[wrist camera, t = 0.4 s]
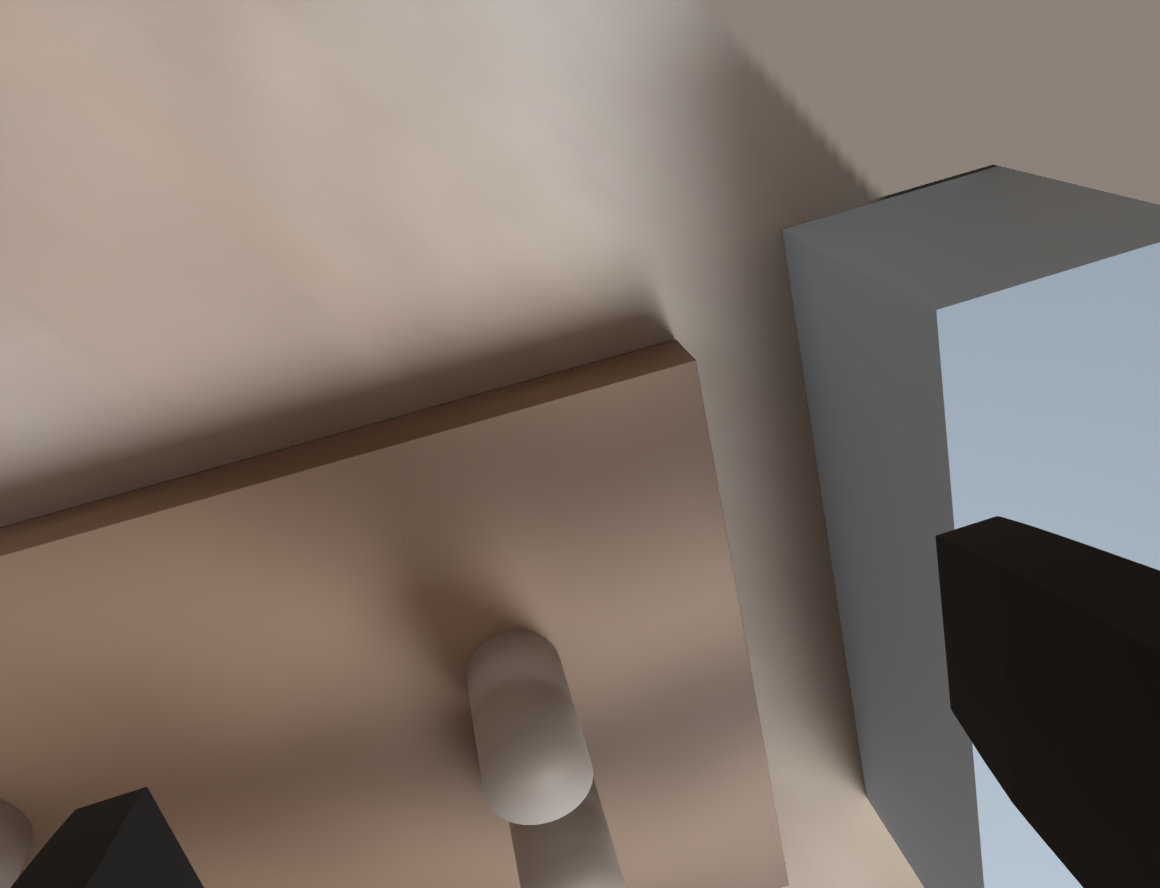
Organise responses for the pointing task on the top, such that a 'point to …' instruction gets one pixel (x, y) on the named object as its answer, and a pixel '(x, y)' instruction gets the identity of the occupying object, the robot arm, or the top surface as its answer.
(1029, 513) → the pale blue rectangular block
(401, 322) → the top surface
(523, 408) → the peg stand
